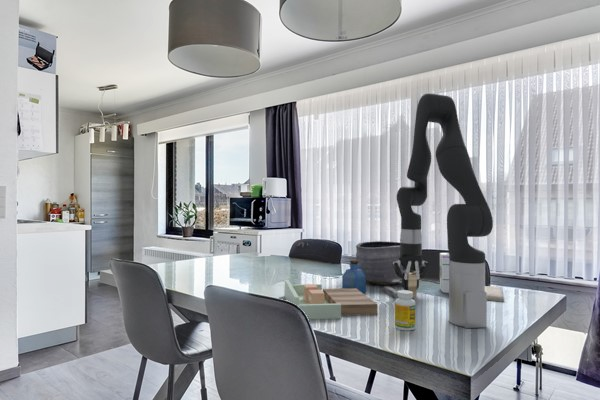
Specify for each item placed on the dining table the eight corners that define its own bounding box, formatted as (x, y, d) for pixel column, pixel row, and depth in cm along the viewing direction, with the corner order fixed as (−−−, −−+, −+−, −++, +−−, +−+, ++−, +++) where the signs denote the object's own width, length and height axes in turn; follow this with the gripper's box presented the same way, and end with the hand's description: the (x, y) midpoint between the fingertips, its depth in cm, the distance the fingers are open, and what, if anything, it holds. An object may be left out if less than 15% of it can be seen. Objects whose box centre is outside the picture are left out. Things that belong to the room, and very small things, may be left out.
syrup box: (457, 293, 144) (458, 254, 145) (441, 292, 146) (441, 254, 146) (454, 290, 150) (455, 252, 150) (438, 289, 151) (439, 252, 151)
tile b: (317, 287, 126) (305, 287, 125) (317, 302, 126) (305, 302, 125) (315, 284, 131) (303, 284, 130) (314, 298, 131) (303, 299, 130)
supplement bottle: (398, 323, 107) (398, 288, 107) (417, 327, 104) (418, 291, 104) (391, 328, 102) (392, 292, 102) (411, 332, 99) (412, 294, 99)
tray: (340, 318, 111) (341, 297, 111) (295, 319, 109) (295, 298, 109) (320, 295, 139) (321, 278, 139) (284, 296, 137) (284, 279, 137)
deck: (377, 314, 115) (377, 304, 116) (338, 315, 114) (338, 305, 114) (355, 296, 137) (356, 288, 137) (322, 297, 135) (322, 288, 136)
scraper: (424, 301, 132) (424, 278, 132) (400, 302, 131) (401, 278, 131) (404, 291, 148) (405, 270, 148) (383, 291, 146) (383, 270, 146)
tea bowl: (372, 273, 180) (371, 236, 179) (418, 280, 167) (418, 240, 166) (345, 285, 160) (345, 244, 159) (396, 294, 147) (396, 249, 146)
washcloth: (500, 293, 149) (500, 284, 149) (505, 303, 132) (505, 294, 132) (467, 289, 153) (467, 282, 154) (467, 299, 137) (467, 291, 137)
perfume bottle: (365, 293, 143) (365, 260, 144) (355, 295, 139) (356, 262, 139) (351, 290, 148) (352, 258, 148) (342, 292, 143) (342, 260, 143)
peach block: (324, 293, 117) (311, 293, 117) (324, 309, 117) (311, 310, 117) (321, 289, 122) (308, 289, 122) (320, 305, 122) (308, 305, 122)
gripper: (396, 242, 135) (395, 292, 135) (434, 242, 137) (433, 291, 137) (388, 240, 142) (387, 287, 142) (424, 240, 144) (423, 286, 144)
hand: (410, 289), depth 139 cm, fingers closed on scraper, 3 cm apart
